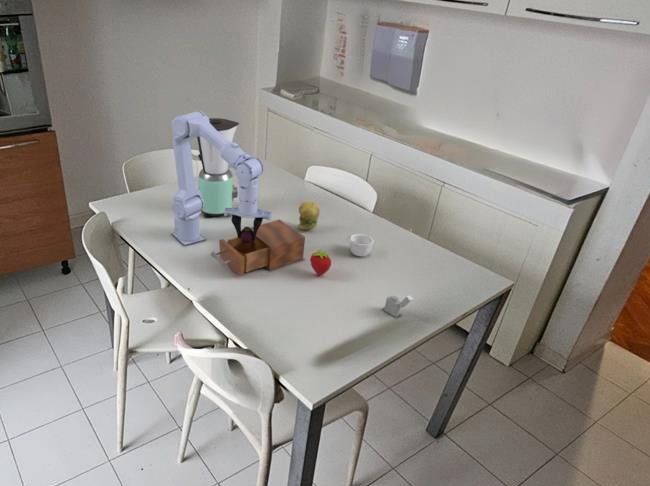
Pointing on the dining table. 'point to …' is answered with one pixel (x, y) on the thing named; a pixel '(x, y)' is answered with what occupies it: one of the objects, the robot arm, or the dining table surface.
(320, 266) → the strawberry
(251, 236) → the mangosteen
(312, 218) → the hamburger
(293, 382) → the dining table surface
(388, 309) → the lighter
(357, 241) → the teacup
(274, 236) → the cabinet
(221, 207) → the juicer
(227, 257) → the drawer
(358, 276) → the dining table surface
